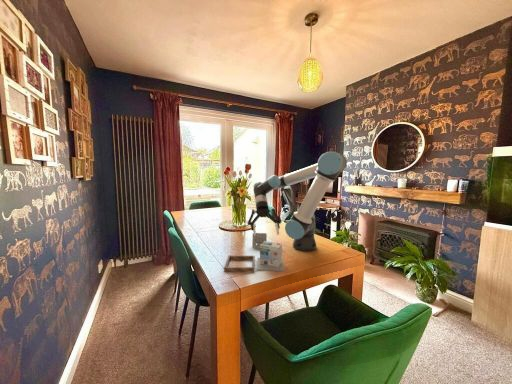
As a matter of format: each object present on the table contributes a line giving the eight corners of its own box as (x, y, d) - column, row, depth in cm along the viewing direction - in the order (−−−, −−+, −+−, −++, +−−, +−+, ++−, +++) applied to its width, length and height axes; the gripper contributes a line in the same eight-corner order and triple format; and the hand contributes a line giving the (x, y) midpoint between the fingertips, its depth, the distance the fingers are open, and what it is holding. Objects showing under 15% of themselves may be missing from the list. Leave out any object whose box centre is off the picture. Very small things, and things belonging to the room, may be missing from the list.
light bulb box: (259, 263, 115) (259, 244, 113) (263, 258, 121) (263, 240, 120) (278, 267, 111) (278, 247, 109) (281, 262, 117) (282, 243, 116)
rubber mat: (281, 259, 122) (281, 258, 122) (284, 271, 109) (284, 269, 108) (257, 258, 123) (257, 257, 123) (257, 270, 109) (257, 269, 109)
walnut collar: (254, 259, 122) (254, 255, 122) (254, 271, 107) (254, 268, 107) (228, 258, 122) (228, 255, 122) (224, 271, 108) (224, 267, 107)
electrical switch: (252, 247, 139) (252, 233, 139) (252, 245, 144) (253, 231, 144) (266, 248, 138) (266, 234, 138) (266, 246, 144) (266, 232, 143)
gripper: (279, 206, 139) (286, 236, 127) (241, 207, 135) (244, 238, 122) (282, 199, 133) (289, 230, 121) (242, 200, 129) (245, 232, 116)
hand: (266, 234), depth 122 cm, fingers open, 13 cm apart
